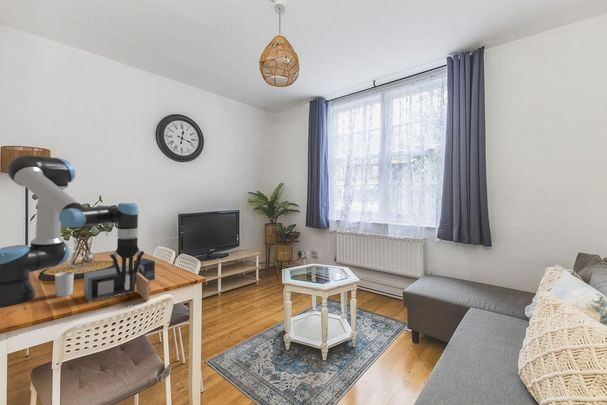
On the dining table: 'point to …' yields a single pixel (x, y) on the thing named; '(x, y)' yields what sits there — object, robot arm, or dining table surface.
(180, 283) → the dining table surface
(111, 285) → the grey cabinet
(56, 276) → the drinking glass
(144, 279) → the side door
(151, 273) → the small box
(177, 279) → the dining table surface
